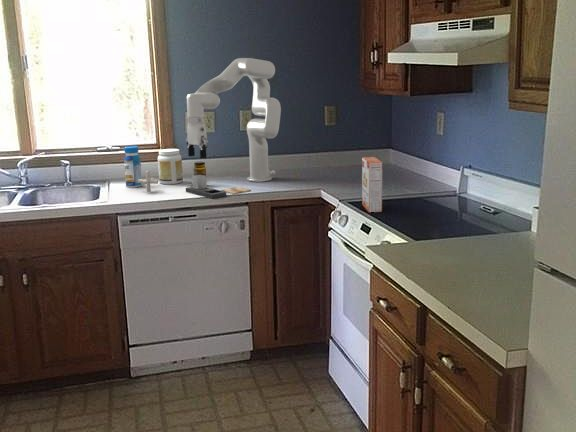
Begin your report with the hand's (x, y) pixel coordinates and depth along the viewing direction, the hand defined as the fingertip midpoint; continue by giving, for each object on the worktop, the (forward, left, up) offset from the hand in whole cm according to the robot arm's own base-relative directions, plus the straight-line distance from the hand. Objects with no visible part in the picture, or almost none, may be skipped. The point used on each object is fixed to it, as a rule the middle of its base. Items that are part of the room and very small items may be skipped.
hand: (197, 157), depth 308 cm
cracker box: (-31, +81, -17) cm, 89 cm away
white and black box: (0, 0, -17) cm, 17 cm away
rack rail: (0, +5, -17) cm, 18 cm away
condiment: (-9, -14, -17) cm, 24 cm away
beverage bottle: (+14, -38, -17) cm, 44 cm away
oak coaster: (-14, +10, -17) cm, 24 cm away
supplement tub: (-4, -32, -17) cm, 37 cm away
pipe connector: (+16, -20, -17) cm, 31 cm away
